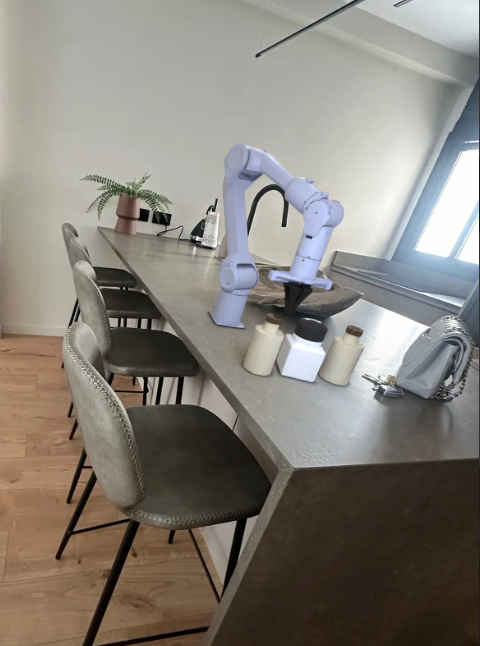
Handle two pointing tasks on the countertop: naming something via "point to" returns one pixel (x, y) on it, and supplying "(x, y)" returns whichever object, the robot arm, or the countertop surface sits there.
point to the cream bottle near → (264, 346)
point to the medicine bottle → (303, 350)
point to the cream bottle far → (342, 357)
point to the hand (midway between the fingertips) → (287, 313)
